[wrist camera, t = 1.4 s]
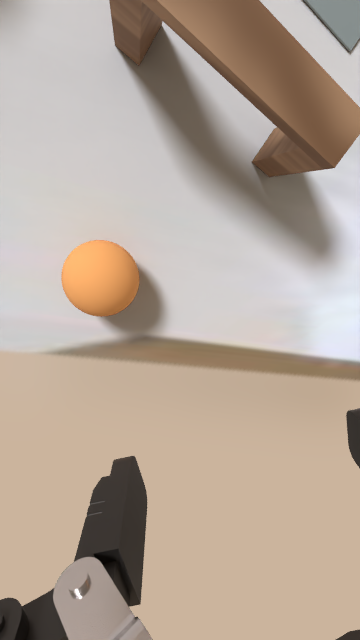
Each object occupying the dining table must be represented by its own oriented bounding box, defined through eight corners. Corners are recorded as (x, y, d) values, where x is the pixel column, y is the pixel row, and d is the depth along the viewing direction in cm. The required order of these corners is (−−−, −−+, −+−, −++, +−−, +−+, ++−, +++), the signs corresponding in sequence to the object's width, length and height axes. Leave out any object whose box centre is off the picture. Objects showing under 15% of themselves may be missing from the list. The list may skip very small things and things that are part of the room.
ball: (116, 314, 30) (112, 341, 25) (56, 280, 28) (38, 301, 23) (151, 260, 29) (155, 276, 23) (91, 221, 27) (80, 228, 21)
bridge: (269, 176, 28) (334, 167, 19) (115, 45, 23) (103, -51, 14) (291, 144, 27) (370, 119, 18) (137, 2, 22) (139, -128, 13)
